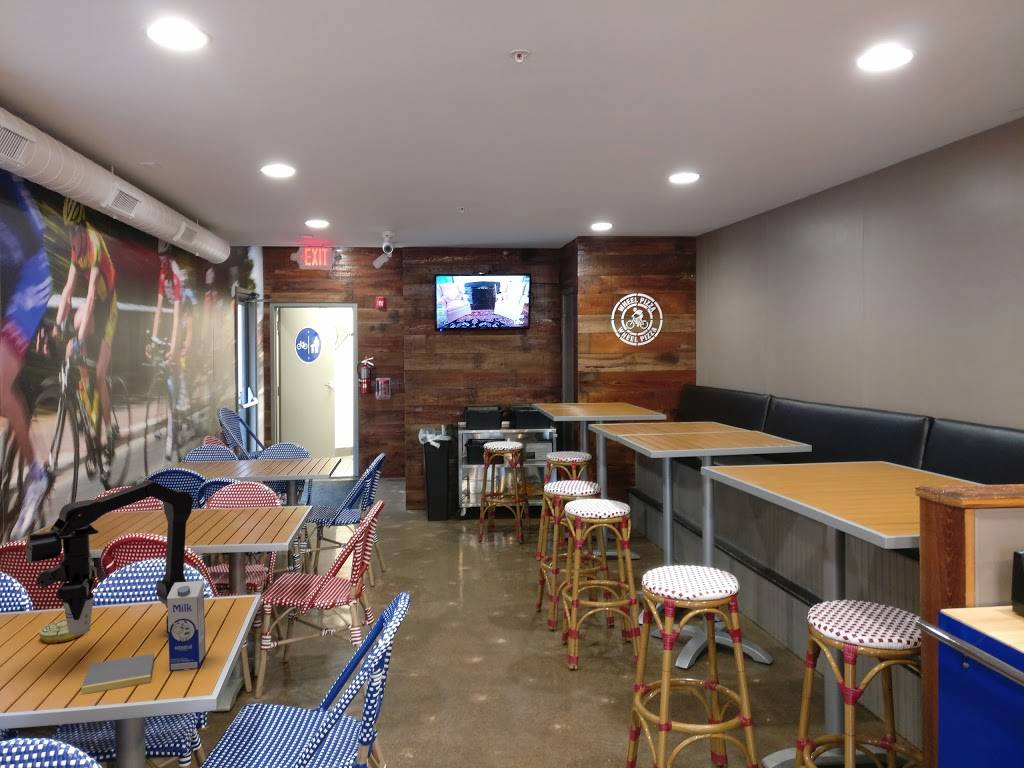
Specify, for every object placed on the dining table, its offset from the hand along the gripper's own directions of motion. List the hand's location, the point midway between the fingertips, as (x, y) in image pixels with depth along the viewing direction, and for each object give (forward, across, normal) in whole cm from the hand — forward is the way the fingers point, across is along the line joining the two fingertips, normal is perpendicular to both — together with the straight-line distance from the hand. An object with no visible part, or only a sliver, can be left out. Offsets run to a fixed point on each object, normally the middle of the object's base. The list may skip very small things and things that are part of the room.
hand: (79, 614), depth 179 cm
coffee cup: (+4, 0, 0) cm, 4 cm away
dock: (+12, +14, +10) cm, 21 cm away
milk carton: (+12, +14, +25) cm, 31 cm away
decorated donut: (+12, -20, -7) cm, 24 cm away
